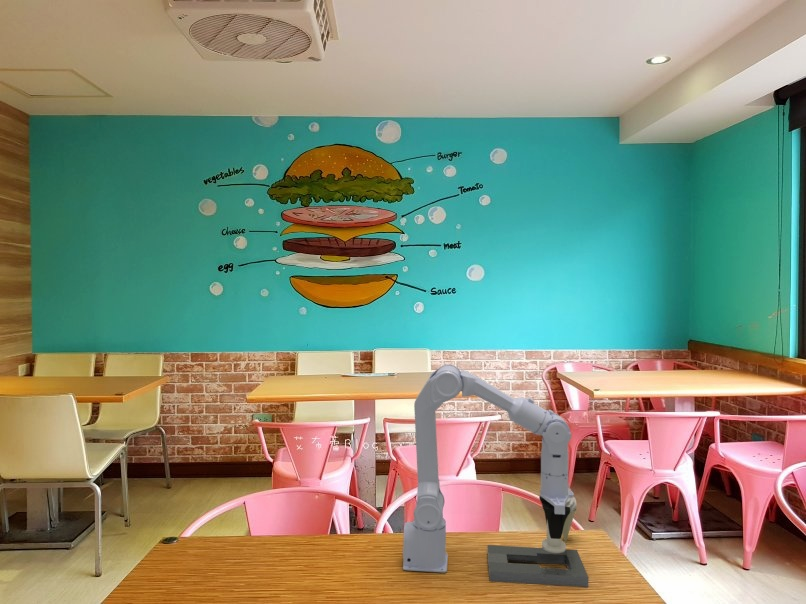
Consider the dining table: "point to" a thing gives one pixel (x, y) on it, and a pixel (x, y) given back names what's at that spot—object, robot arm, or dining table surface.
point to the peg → (553, 544)
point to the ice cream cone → (572, 505)
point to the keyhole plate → (535, 566)
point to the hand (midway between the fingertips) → (554, 534)
